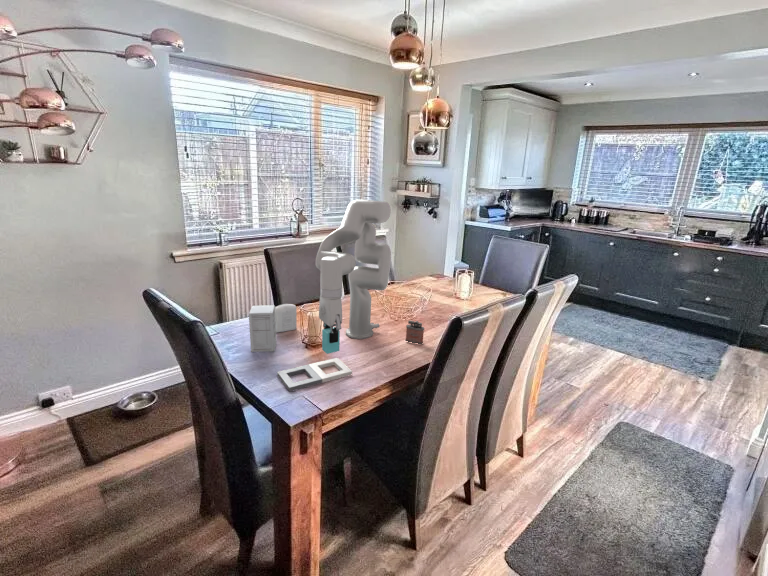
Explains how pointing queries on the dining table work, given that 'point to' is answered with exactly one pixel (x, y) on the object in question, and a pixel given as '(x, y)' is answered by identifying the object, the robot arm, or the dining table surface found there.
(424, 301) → the dining table surface
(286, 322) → the grey toy tombstone
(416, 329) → the lighter
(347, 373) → the panel
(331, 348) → the plug
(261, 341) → the supplement box
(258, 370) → the dining table surface
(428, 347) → the dining table surface
